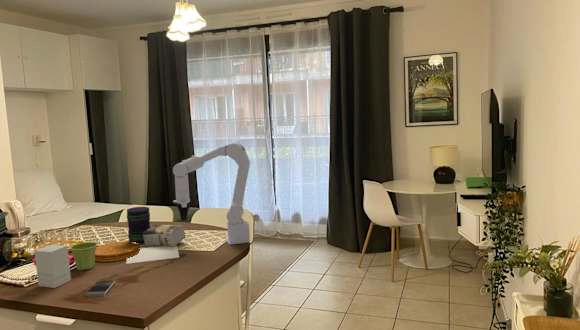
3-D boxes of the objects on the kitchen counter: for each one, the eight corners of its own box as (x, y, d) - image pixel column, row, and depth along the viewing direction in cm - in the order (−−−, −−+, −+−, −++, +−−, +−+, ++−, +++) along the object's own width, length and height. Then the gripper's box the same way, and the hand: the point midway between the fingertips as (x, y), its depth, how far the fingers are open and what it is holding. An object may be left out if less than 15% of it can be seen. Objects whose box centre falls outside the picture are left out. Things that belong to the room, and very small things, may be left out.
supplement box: (71, 280, 151) (68, 245, 149) (54, 288, 144) (50, 252, 142) (55, 278, 153) (52, 243, 152) (37, 286, 146) (33, 250, 145)
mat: (176, 245, 189) (176, 244, 189) (179, 257, 172) (179, 257, 172) (128, 250, 183) (128, 249, 183) (126, 264, 166) (125, 263, 166)
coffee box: (171, 232, 183) (141, 232, 189) (174, 246, 184) (144, 245, 190) (183, 224, 191) (154, 224, 197) (186, 237, 193) (157, 237, 199)
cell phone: (116, 283, 148) (115, 280, 147) (104, 297, 137) (104, 293, 137) (97, 284, 147) (97, 280, 147) (84, 298, 136) (84, 294, 136)
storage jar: (143, 236, 203) (140, 205, 201) (156, 240, 197) (154, 208, 196) (124, 242, 195) (121, 210, 193) (137, 245, 189) (134, 212, 188)
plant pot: (65, 270, 160) (63, 248, 159) (85, 262, 169) (83, 241, 168) (85, 273, 157) (83, 250, 156) (104, 264, 166) (102, 242, 165)
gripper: (171, 188, 195) (173, 217, 196) (173, 193, 181) (175, 225, 182) (187, 187, 197) (189, 216, 198) (190, 192, 183) (192, 223, 185)
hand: (184, 220), depth 191 cm, fingers closed
